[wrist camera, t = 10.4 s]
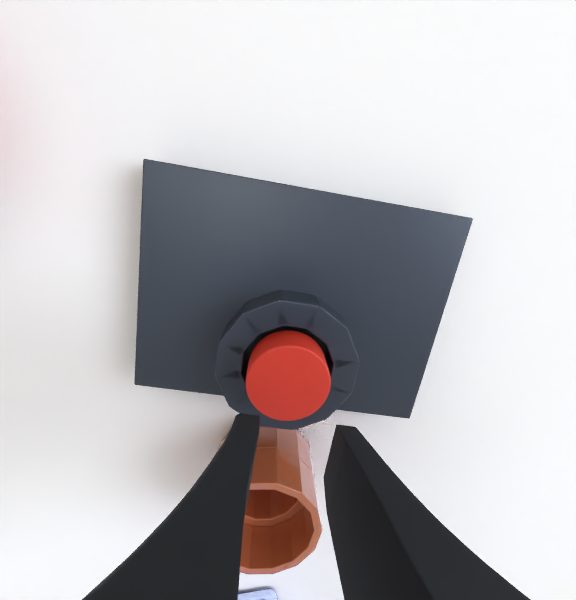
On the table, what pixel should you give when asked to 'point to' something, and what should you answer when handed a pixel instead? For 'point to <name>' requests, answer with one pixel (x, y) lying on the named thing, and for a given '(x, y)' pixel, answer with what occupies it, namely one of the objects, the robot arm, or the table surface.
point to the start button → (287, 376)
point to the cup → (280, 504)
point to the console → (288, 286)
